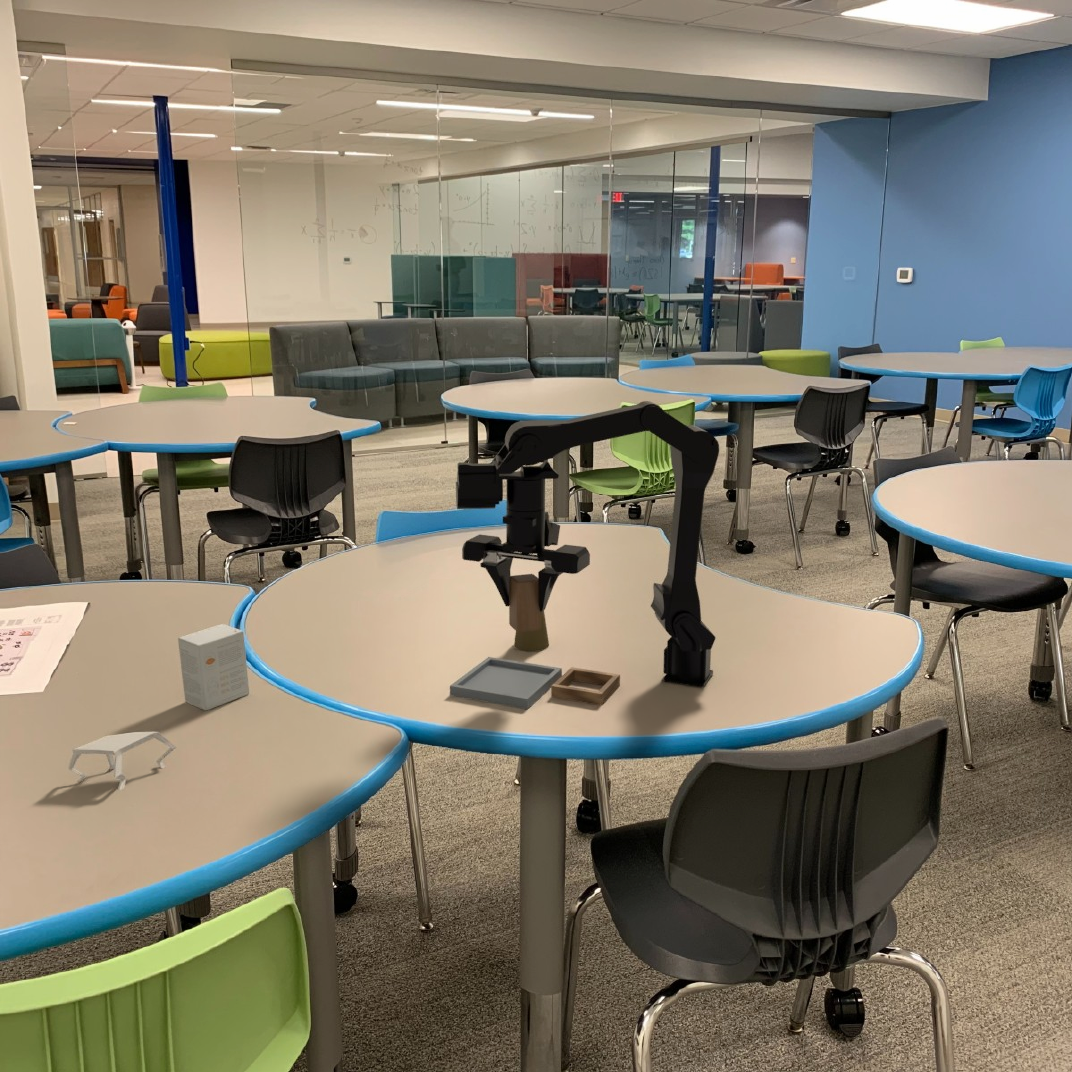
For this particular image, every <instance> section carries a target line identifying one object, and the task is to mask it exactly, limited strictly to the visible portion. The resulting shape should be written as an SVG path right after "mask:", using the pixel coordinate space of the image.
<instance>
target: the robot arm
mask: <svg viewBox="0 0 1072 1072" xmlns="http://www.w3.org/2000/svg"><path fill="white" fill-rule="evenodd" d="M642 432H650V433H651V434H653V435H654V436H656V437H657V438H659V439H660V440H661V441H663V442H665V443H666V444H668V445H669V450H670V460H671V468H672V473H673V478H674V484H675V490H674V491H675V492H674V498H673V499H674V502H673V509H672V510H673V511H672V522H671V531H670V541H669V551H668V552H669V553H668V560H667V561H668V563H667V571H666V576H665V577H664V579H663V581H662V583H658V582H657V583H656V582H653V585H652V587H653V588H652V589H653V590H652V591H653V599H652V602H651V604H650V608H651V609H652V610H653V611H654V614H655V615H654V616H655V618H656V620H657V621H658V622H659V623H660V625H661V626H662V627H663V629H664V630H665V632H667V634H668V635H669V636H670V638H669V639H668V640H667V641H666V642H667V643H666V647H665V648H664V649H663V674H664V676H663V678H662V681H663V682H666V683H671V684H672V683H673V684H678V685H686V686H691V687H698V688H704V687H705V686H706V684H707V683H708V682H709V679H710V678H712V676H713V674H714V670H713V669H711V659H712V657H711V656H712V655H711V654H712V648H713V646H714V643H715V641H716V636H715V635H714V633H713V632H712V631H711V630H710V629H709V627H707V625H706V624H705V623H704V622H703V621H702V614H701V601H700V598H699V597H700V596H699V591H698V586H697V580H696V579H697V578H696V577H697V569H698V559H699V549H700V540H701V530H702V521H703V511H704V502H705V501H704V500H705V492H706V489H707V487H708V485H709V483H710V481H711V479H712V477H713V474H714V472H715V469H716V465H717V461H718V458H719V454H720V444H719V441H718V440H717V438H716V437H715V436H714V435H713V434H712V433H710V432H709V431H706V430H705V429H702V428H701V427H699V426H697V425H692V424H687V425H686V424H684V423H683V422H681V421H679V420H678V419H676V418H675V417H674V416H672V415H670V414H669V413H667V412H666V411H665V410H664V409H663V408H662V407H661V406H660V405H659V404H656V403H655V402H652V401H648V400H643V401H640V402H639V403H636V404H632V405H629V406H623V407H619V408H614V409H610V410H606V411H601V412H596V413H593V414H592V413H591V414H588V415H582V416H578V417H574V418H569V419H562V420H557V419H556V420H555V419H554V420H553V419H532V420H529V419H527V420H519V421H516V422H514V423H513V424H511V425H510V427H508V430H507V431H506V433H505V437H504V444H503V445H502V447H501V449H500V450H499V451H498V452H497V454H496V455H495V456H494V458H493V459H492V460H491V463H487V462H485V463H482V462H481V463H478V462H477V463H470V462H465V461H464V462H463V461H462V462H458V463H457V471H456V481H455V504H456V510H477V509H478V510H482V509H483V510H486V509H487V510H489V509H490V510H491V509H495V510H496V505H500V502H501V503H503V501H504V499H503V498H504V483H503V482H504V480H506V507H505V508H506V509H505V510H506V511H505V512H506V513H505V514H506V515H503V516H502V524H505V525H506V529H505V530H506V532H505V533H506V534H505V535H506V537H505V539H506V540H505V542H504V543H502V540H501V537H500V536H497V535H496V536H495V535H487V534H477V535H475V536H473V537H471V538H470V539H468V540H466V541H464V543H463V545H462V548H461V550H462V552H461V559H462V560H463V561H469V562H476V563H477V562H479V563H480V562H481V561H482V562H481V563H480V565H479V566H480V568H483V569H485V570H486V572H487V573H488V575H489V576H490V578H491V580H492V582H493V583H494V585H495V587H496V589H497V591H498V593H499V595H500V598H501V599H502V601H503V603H504V606H505V607H509V578H510V576H512V575H511V568H512V564H513V559H516V560H517V559H519V560H526V561H534V562H543V563H544V564H543V565H544V568H542V569H541V570H539V571H538V572H537V573H538V575H537V577H538V589H539V608H540V611H544V612H545V610H546V608H547V605H548V603H549V599H550V598H551V594H552V591H553V588H554V587H555V583H556V582H557V580H558V578H559V576H561V575H562V574H570V575H575V574H578V573H580V572H581V571H583V570H584V569H585V568H587V567H589V566H590V564H591V554H590V552H589V550H588V548H587V547H586V546H581V545H573V544H571V545H570V544H563V545H562V546H560V547H559V548H557V549H555V550H554V549H549V548H548V549H546V548H545V547H551V546H558V545H559V537H560V532H561V525H560V524H558V523H554V522H551V521H550V520H549V519H550V515H549V512H548V511H546V480H555V479H559V477H560V475H559V473H558V472H557V470H556V469H554V468H553V467H552V466H551V464H550V462H549V461H548V460H549V459H552V458H554V457H556V456H559V454H562V453H563V452H565V451H567V450H569V449H571V448H576V447H579V446H585V445H588V444H592V443H597V442H603V441H606V440H611V439H617V438H621V437H625V436H628V435H634V434H638V433H639V434H640V433H642ZM539 463H541V464H540V465H538V464H539ZM519 469H520V470H519ZM518 470H519V471H518Z"/></svg>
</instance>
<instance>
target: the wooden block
mask: <svg viewBox="0 0 1072 1072" xmlns="http://www.w3.org/2000/svg"><path fill="white" fill-rule="evenodd" d="M508 607H509V608H508V609H509V611H508V613H509V618H508V619H509V620H508V624H509V626H510V627H511V628H512V629H513V630H514V631H515V632H516V631H517V632H527V631H536V630H540V629H541V611H540V608H539V589H538V576H536V575H534V574H533V573H528V574H518V575H517V574H516V575H511V576H510V578H509V606H508Z"/></svg>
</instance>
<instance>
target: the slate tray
mask: <svg viewBox="0 0 1072 1072" xmlns="http://www.w3.org/2000/svg"><path fill="white" fill-rule="evenodd" d="M561 676H563V668H562V667H555V666H549V665H543V664H537V663H531V662H530V663H529V662H524V661H517V660H512V659H511V660H510V659H504V658H497V657H492V656H487V657H486V658H484V659H483V660H482V661H481V662H479V664H477V665H476V666H474V667H473V668H472V669H470V670H469V671H468V672H467V673H465V674H464V675H462V676H461V677H459V679H457V680H456V681H454V682H453V683H452V684H450V685H449V695H450V697H456V698H463V699H467V700H472V701H478V702H479V701H480V702H485V703H491V704H496V705H501V706H507V707H511V708H512V707H514V708H519V709H524V710H528V709H530V708H531V707H532V706H533V705H534V704H535V703H536V702H538V700H540V698H542V697H543V696H544V695H545V694H546V693H547V692H548V691H549V690H551V686H552V685H553V684H554V683H555V682H556V681H557V680H558V679H559V678H560V677H561Z"/></svg>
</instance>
